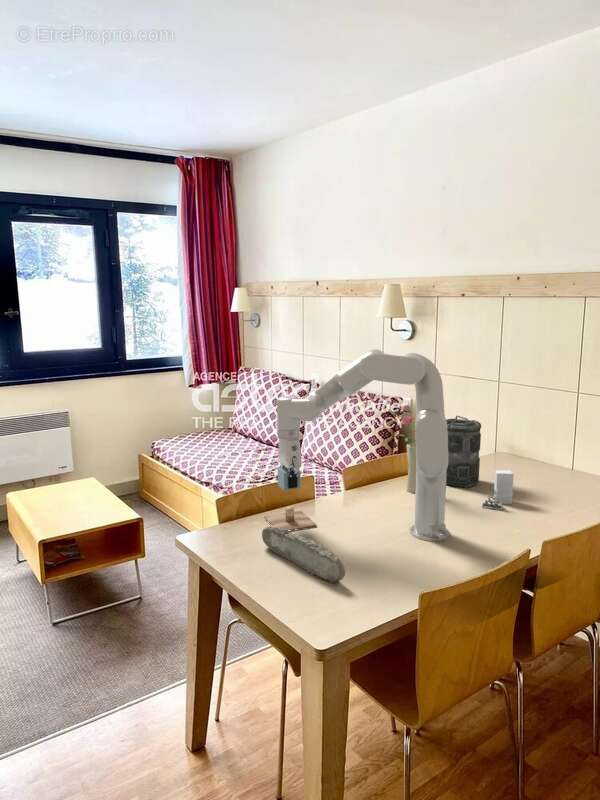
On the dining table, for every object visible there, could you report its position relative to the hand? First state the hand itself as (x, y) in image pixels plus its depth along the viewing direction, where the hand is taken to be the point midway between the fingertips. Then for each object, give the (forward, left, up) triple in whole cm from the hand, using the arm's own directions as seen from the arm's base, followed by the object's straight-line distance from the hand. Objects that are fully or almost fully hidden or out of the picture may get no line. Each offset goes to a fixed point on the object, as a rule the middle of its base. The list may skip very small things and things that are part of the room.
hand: (289, 484), depth 198 cm
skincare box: (-12, -82, -15) cm, 84 cm away
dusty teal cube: (0, 0, -1) cm, 1 cm away
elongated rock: (-31, +8, -15) cm, 35 cm away
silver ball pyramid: (-15, -76, -15) cm, 79 cm away
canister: (+14, -81, -15) cm, 84 cm away
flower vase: (+11, -54, -15) cm, 57 cm away
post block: (0, 0, -15) cm, 15 cm away
